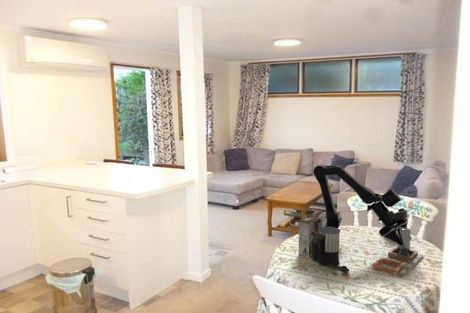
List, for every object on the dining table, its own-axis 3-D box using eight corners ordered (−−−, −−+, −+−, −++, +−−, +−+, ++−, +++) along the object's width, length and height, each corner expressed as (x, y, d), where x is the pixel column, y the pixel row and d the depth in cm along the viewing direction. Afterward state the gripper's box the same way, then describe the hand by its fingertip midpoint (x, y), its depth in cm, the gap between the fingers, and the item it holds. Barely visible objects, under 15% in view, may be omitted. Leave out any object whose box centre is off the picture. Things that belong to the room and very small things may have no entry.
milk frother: (323, 256, 164) (324, 224, 162) (358, 266, 154) (359, 231, 152) (308, 267, 153) (308, 233, 151) (344, 277, 143) (345, 241, 141)
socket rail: (402, 277, 143) (402, 272, 143) (372, 268, 151) (372, 264, 151) (423, 257, 162) (423, 252, 162) (395, 250, 170) (395, 246, 170)
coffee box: (310, 249, 173) (311, 216, 171) (321, 253, 168) (322, 219, 166) (297, 254, 167) (298, 219, 166) (309, 258, 163) (309, 223, 161)
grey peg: (400, 258, 161) (402, 231, 159) (394, 254, 166) (395, 227, 165) (411, 258, 162) (413, 230, 160) (405, 253, 167) (406, 227, 165)
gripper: (387, 207, 157) (412, 238, 151) (404, 199, 170) (428, 227, 164) (368, 221, 164) (392, 251, 157) (387, 213, 177) (409, 240, 170)
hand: (406, 242), depth 162 cm, fingers open, 9 cm apart
